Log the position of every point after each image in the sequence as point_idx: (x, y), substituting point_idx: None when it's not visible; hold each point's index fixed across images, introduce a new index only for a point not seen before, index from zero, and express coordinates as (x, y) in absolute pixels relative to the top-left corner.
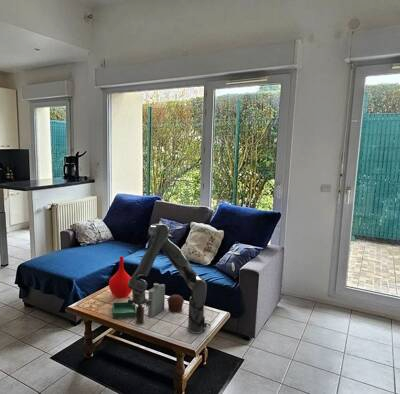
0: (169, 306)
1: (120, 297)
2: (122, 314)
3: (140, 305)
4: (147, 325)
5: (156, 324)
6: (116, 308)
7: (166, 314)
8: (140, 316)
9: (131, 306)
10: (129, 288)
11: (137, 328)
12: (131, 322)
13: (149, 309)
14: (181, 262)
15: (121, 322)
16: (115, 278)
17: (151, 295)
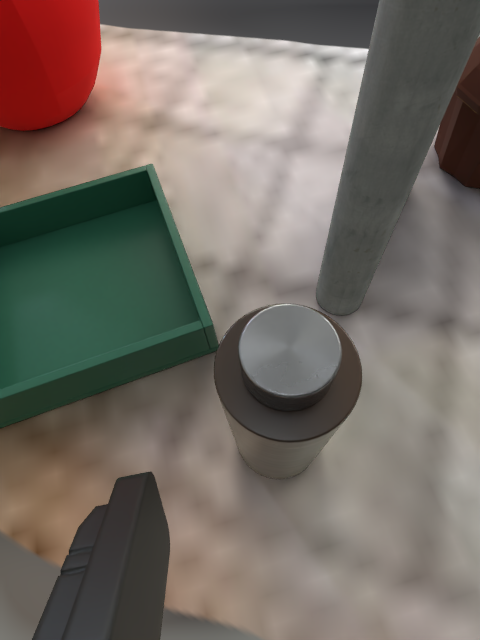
0: (472, 149)
1: (36, 127)
2: (62, 387)
3: (309, 400)
4: (381, 483)
5: (464, 432)
6: (10, 265)
7: (460, 235)
8: (302, 464)
9: (136, 207)
10: (66, 31)
11: (293, 597)
12: (189, 465)
13: (350, 268)
14: None
15: (79, 497)
16: None
17: (443, 86)
